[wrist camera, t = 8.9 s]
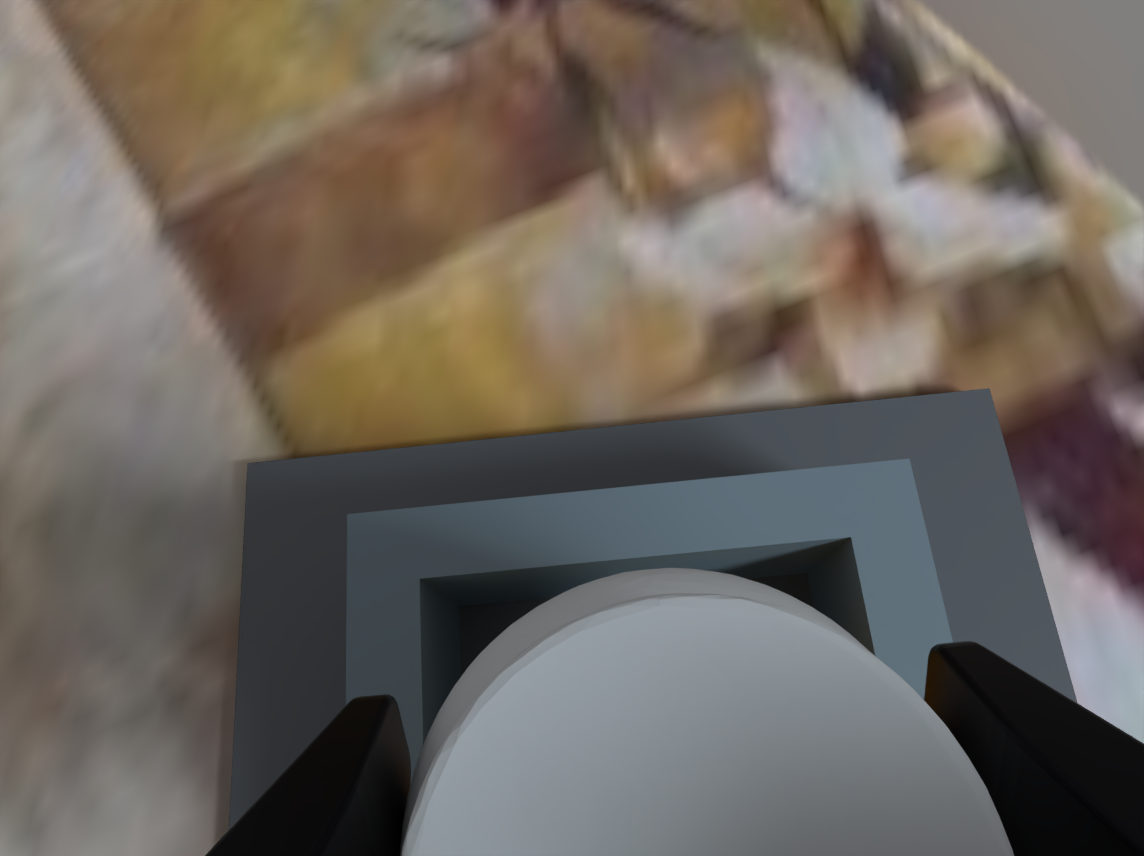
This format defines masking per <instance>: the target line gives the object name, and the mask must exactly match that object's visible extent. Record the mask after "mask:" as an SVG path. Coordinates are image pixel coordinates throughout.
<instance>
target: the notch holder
mask: <svg viewBox="0 0 1144 856" xmlns="http://www.w3.org/2000/svg"><path fill="white" fill-rule="evenodd" d="M659 568H688V569H698V570H706V571H714V572H720V573H726V574H732V575H735V576H739V577H742V578H745V579H748V580H752V581H755V582H758V583H761V584H765V585H767V586H770V587H772V588H774V589H777V590H779V591H781V592H784V593H786V594H788V595H790V596H792V597H794V598H796V599H798V600H800V601H802V602H803V603H805V604H807V605H809V606H811V607H813V608H814V609H816V610H817V611H819V612H820V613H822V614H824V615H825V616H827V617H828V618H830V619H831V620H833V621H834V622H835V623H837V624H838V625H839V626H840V627H842V628H843V629H844V630H846V631H847V632H848V633H849V634H851V635H852V636H853V637H854V638H855V639H856V640H857V641H859V642H860V643H861V644H862V645H863V646H864V647H865V648H867V649H868V651H870V652H871V653H872V654H873V655H875V656H876V657H877V658H878V659H880V660H881V661H882V662H883V663H885V664H886V665H887V666H888V667H890V668H891V669H892V670H893V671H895V672H896V673H897V674H898V675H899V676H900V677H901V678H902V679H903V680H904V681H905V682H907V683H908V684H909V685H910V686H911V687H912V688H913V689H914V690H915V691H916V692H917V693H918V694H919V696H920V697H921V698H922V699H923V700H924V694H925V684H926V674H927V664H928V656H929V652H930V650H931V648H932V647H933V646H935V645H937V644H941V643H952V642H963V641H972V642H976V643H978V644H980V645H982V646H984V647H985V648H987V649H989V650H990V651H992V652H994V653H995V654H997V655H999V656H1000V657H1002V658H1004V659H1005V660H1007V661H1008V662H1010V663H1012V664H1013V665H1015V666H1017V667H1018V668H1020V669H1022V670H1023V671H1025V672H1027V673H1028V674H1030V675H1031V676H1033V677H1035V678H1036V679H1038V680H1040V681H1041V682H1043V683H1045V684H1046V685H1048V686H1050V687H1051V688H1053V689H1054V690H1056V691H1058V692H1059V693H1061V694H1063V695H1064V696H1066V697H1068V698H1069V699H1071V700H1073V701H1074V702H1076V703H1077V700H1076V696H1075V693H1074V689H1073V685H1072V682H1071V678H1070V675H1069V671H1068V668H1067V664H1066V660H1065V657H1064V653H1063V650H1062V646H1061V643H1060V639H1059V635H1058V632H1057V628H1056V625H1055V621H1054V618H1053V614H1052V610H1051V607H1050V603H1049V600H1048V596H1047V593H1046V589H1045V585H1044V582H1043V578H1042V575H1041V571H1040V568H1039V564H1038V560H1037V557H1036V553H1035V550H1034V546H1033V543H1032V539H1031V535H1030V532H1029V528H1028V525H1027V521H1026V518H1025V514H1024V510H1023V507H1022V503H1021V500H1020V496H1019V493H1018V489H1017V485H1016V482H1015V478H1014V475H1013V471H1012V468H1011V464H1010V460H1009V457H1008V453H1007V450H1006V446H1005V443H1004V439H1003V435H1002V432H1001V428H1000V425H999V421H998V418H997V414H996V410H995V407H994V403H993V400H992V396H991V393H990V389H979V390H969V391H959V392H950V393H940V394H930V395H920V396H910V397H900V398H890V399H880V400H870V401H860V402H850V403H841V404H831V405H821V406H811V407H801V408H791V409H781V410H771V411H761V412H751V413H741V414H732V415H722V416H712V417H702V418H692V419H682V420H672V421H662V422H652V423H642V424H633V425H623V426H613V427H603V428H593V429H583V430H573V431H563V432H553V433H543V434H533V435H524V436H514V437H504V438H494V439H484V440H474V441H464V442H454V443H444V444H434V445H425V446H415V447H405V448H395V449H385V450H375V451H365V452H355V453H345V454H335V455H325V456H316V457H306V458H296V459H286V460H276V461H266V462H256V463H248V467H247V486H246V506H245V525H244V545H243V565H242V584H241V604H240V623H239V643H238V663H237V682H236V702H235V721H234V741H233V761H232V780H231V800H230V819H229V830H230V829H231V827H232V826H233V825H234V824H235V823H236V822H237V821H238V820H239V819H240V818H241V817H242V816H243V815H244V814H245V812H246V811H247V810H248V809H249V808H250V807H251V806H252V805H253V804H254V803H255V802H256V801H257V800H258V799H259V798H260V796H261V795H262V794H263V793H264V792H265V791H266V790H267V789H268V788H269V787H270V786H271V785H272V784H273V783H274V781H275V780H276V779H277V778H278V777H279V776H280V775H281V774H282V773H283V772H284V771H285V770H286V769H287V768H288V766H289V765H290V764H291V763H292V762H293V761H294V760H295V759H296V758H297V757H298V756H299V755H300V754H301V753H302V752H303V750H304V749H305V748H306V747H307V746H308V745H309V744H310V743H311V742H312V741H313V740H314V739H315V738H316V737H317V735H318V734H319V733H320V732H321V731H322V730H323V729H324V728H325V727H326V726H327V725H328V724H329V723H330V722H331V721H332V719H333V718H334V717H335V716H336V715H337V714H338V713H339V712H340V711H341V710H342V709H343V708H344V707H345V706H346V704H347V703H348V702H350V701H351V700H352V699H354V698H356V697H361V696H372V695H383V694H389V695H391V696H393V697H394V698H395V700H396V702H397V704H398V707H399V711H400V715H401V719H402V723H403V727H404V731H405V736H406V740H407V744H408V748H409V752H410V759H411V781H412V777H413V773H414V769H415V766H416V763H417V760H418V757H419V754H420V752H421V749H422V747H423V745H424V742H425V740H426V737H427V735H428V732H429V730H430V728H431V726H432V724H433V722H434V720H435V718H436V716H437V714H438V712H439V710H440V709H441V707H442V705H443V704H444V702H445V700H446V699H447V697H448V695H449V694H450V692H451V690H452V689H453V687H454V686H455V684H456V683H457V682H458V680H459V679H460V677H461V676H462V675H463V673H464V672H465V671H466V669H467V668H468V667H469V666H470V664H471V663H472V662H473V661H474V660H475V659H476V657H477V656H478V655H479V654H480V653H481V652H482V651H483V650H484V649H485V648H486V647H487V646H488V645H489V644H490V643H491V642H492V641H493V640H494V639H495V638H497V637H498V636H499V635H500V634H501V633H502V632H503V631H504V630H506V629H507V628H508V627H509V626H510V625H511V624H513V623H514V622H516V621H517V620H518V619H520V618H521V617H523V616H524V615H526V614H527V613H529V612H530V611H532V610H533V609H534V608H536V607H537V606H539V605H541V604H543V603H545V602H547V601H548V600H550V599H552V598H554V597H556V596H558V595H560V594H561V593H563V592H566V591H568V590H570V589H572V588H575V587H577V586H579V585H582V584H585V583H588V582H591V581H594V580H597V579H600V578H604V577H608V576H611V575H615V574H619V573H623V572H630V571H638V570H646V569H659ZM410 785H411V782H410Z"/></svg>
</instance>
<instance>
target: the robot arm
mask: <svg viewBox="0 0 1144 856" xmlns="http://www.w3.org/2000/svg"><path fill="white" fill-rule="evenodd" d="M924 701H925V702H926V703H927V704H928V705H929V706H930V708H931V709H932V710H933V711H934V712H935V713H936V714H937V716H938V717H939V718H940V719H941V720H942V721H943V722H944V724H945V725H946V726H947V727H948V729H949V730H950V732H951V733H952V735H953V736H954V737H955V739H956V740H957V742H958V743H959V745H960V746H961V747H962V749H963V750H964V752H965V753H966V755H967V756H968V758H969V759H970V761H971V763H972V764H973V766H974V768H975V769H976V771H977V773H978V774H979V776H980V778H981V779H982V781H983V783H984V784H985V786H986V788H987V790H988V792H989V795H990V797H991V799H992V801H993V803H994V806H995V808H996V810H997V812H998V815H999V817H1000V819H1001V822H1002V824H1003V827H1004V830H1005V832H1006V835H1007V837H1008V840H1009V842H1010V845H1011V847H1012V850H1013V853H1014V856H1144V744H1143V743H1142V742H1140V741H1138V740H1137V739H1135V738H1133V737H1132V736H1130V735H1129V734H1127V733H1125V732H1124V731H1122V730H1120V729H1119V728H1117V727H1115V726H1114V725H1112V724H1110V723H1109V722H1107V721H1105V720H1104V719H1102V718H1101V717H1099V716H1097V715H1096V714H1094V713H1092V712H1091V711H1089V710H1087V709H1086V708H1084V707H1082V706H1081V705H1079V704H1078V703H1076V702H1074V701H1073V700H1071V699H1069V698H1068V697H1066V696H1064V695H1063V694H1061V693H1059V692H1058V691H1056V690H1054V689H1053V688H1051V687H1050V686H1048V685H1046V684H1045V683H1043V682H1041V681H1040V680H1038V679H1036V678H1035V677H1033V676H1031V675H1030V674H1028V673H1027V672H1025V671H1023V670H1022V669H1020V668H1018V667H1017V666H1015V665H1013V664H1012V663H1010V662H1008V661H1007V660H1005V659H1004V658H1002V657H1000V656H999V655H997V654H995V653H994V652H992V651H990V650H989V649H987V648H985V647H984V646H982V645H980V644H978V643H976V642H972V641H963V642H952V643H941V644H937V645H935V646H933V647H932V648H931V650H930V652H929V656H928V664H927V674H926V684H925V694H924ZM410 782H411V759H410V752H409V748H408V744H407V740H406V736H405V731H404V727H403V723H402V719H401V715H400V711H399V707H398V704H397V702H396V700H395V698H394V697H393V696H391V695H389V694H383V695H372V696H361V697H356V698H354V699H352V700H351V701H350V702H348V703H347V704H346V706H345V707H344V708H343V709H342V710H341V711H340V712H339V713H338V714H337V715H336V716H335V717H334V718H333V719H332V721H331V722H330V723H329V724H328V725H327V726H326V727H325V728H324V729H323V730H322V731H321V732H320V733H319V734H318V735H317V737H316V738H315V739H314V740H313V741H312V742H311V743H310V744H309V745H308V746H307V747H306V748H305V749H304V750H303V752H302V753H301V754H300V755H299V756H298V757H297V758H296V759H295V760H294V761H293V762H292V763H291V764H290V765H289V766H288V768H287V769H286V770H285V771H284V772H283V773H282V774H281V775H280V776H279V777H278V778H277V779H276V780H275V781H274V783H273V784H272V785H271V786H270V787H269V788H268V789H267V790H266V791H265V792H264V793H263V794H262V795H261V796H260V798H259V799H258V800H257V801H256V802H255V803H254V804H253V805H252V806H251V807H250V808H249V809H248V810H247V811H246V812H245V814H244V815H243V816H242V817H241V818H240V819H239V820H238V821H237V822H236V823H235V824H234V825H233V826H232V827H231V829H230V830H229V831H228V832H227V833H226V834H225V835H224V836H223V837H222V838H221V839H220V840H219V841H218V842H217V843H216V845H215V846H214V847H213V848H212V849H211V850H210V851H209V852H208V853H207V854H206V855H205V856H400V844H401V835H402V825H403V819H404V814H405V808H406V803H407V797H408V793H409V789H410Z"/></svg>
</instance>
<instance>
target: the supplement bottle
mask: <svg viewBox="0 0 1144 856" xmlns="http://www.w3.org/2000/svg"><path fill="white" fill-rule="evenodd" d="M400 856H1014V853H1013V850H1012V847H1011V845H1010V842H1009V840H1008V837H1007V835H1006V832H1005V830H1004V827H1003V824H1002V822H1001V819H1000V817H999V815H998V812H997V810H996V808H995V806H994V803H993V801H992V799H991V797H990V795H989V792H988V790H987V788H986V786H985V784H984V783H983V781H982V779H981V778H980V776H979V774H978V773H977V771H976V769H975V768H974V766H973V764H972V763H971V761H970V759H969V758H968V756H967V755H966V753H965V752H964V750H963V749H962V747H961V746H960V745H959V743H958V742H957V740H956V739H955V737H954V736H953V735H952V733H951V732H950V730H949V729H948V727H947V726H946V725H945V724H944V722H943V721H942V720H941V719H940V718H939V717H938V716H937V714H936V713H935V712H934V711H933V710H932V709H931V708H930V706H929V705H928V704H927V703H926V702H925V701H924V700H923V699H922V698H921V697H920V696H919V694H918V693H917V692H916V691H915V690H914V689H913V688H912V687H911V686H910V685H909V684H908V683H907V682H905V681H904V680H903V679H902V678H901V677H900V676H899V675H898V674H897V673H896V672H895V671H893V670H892V669H891V668H890V667H888V666H887V665H886V664H885V663H883V662H882V661H881V660H880V659H878V658H877V657H876V656H875V655H873V654H872V653H871V652H870V651H868V649H867V648H865V647H864V646H863V645H862V644H861V643H860V642H859V641H857V640H856V639H855V638H854V637H853V636H852V635H851V634H849V633H848V632H847V631H846V630H844V629H843V628H842V627H840V626H839V625H838V624H837V623H835V622H834V621H833V620H831V619H830V618H828V617H827V616H825V615H824V614H822V613H820V612H819V611H817V610H816V609H814V608H813V607H811V606H809V605H807V604H805V603H803V602H802V601H800V600H798V599H796V598H794V597H792V596H790V595H788V594H786V593H784V592H781V591H779V590H777V589H774V588H772V587H770V586H767V585H765V584H761V583H758V582H755V581H752V580H748V579H745V578H742V577H739V576H735V575H732V574H726V573H720V572H714V571H706V570H698V569H688V568H659V569H646V570H638V571H630V572H623V573H619V574H615V575H611V576H608V577H604V578H600V579H597V580H594V581H591V582H588V583H585V584H582V585H579V586H577V587H575V588H572V589H570V590H568V591H566V592H563V593H561V594H560V595H558V596H556V597H554V598H552V599H550V600H548V601H547V602H545V603H543V604H541V605H539V606H537V607H536V608H534V609H533V610H532V611H530V612H529V613H527V614H526V615H524V616H523V617H521V618H520V619H518V620H517V621H516V622H514V623H513V624H511V625H510V626H509V627H508V628H507V629H506V630H504V631H503V632H502V633H501V634H500V635H499V636H498V637H497V638H495V639H494V640H493V641H492V642H491V643H490V644H489V645H488V646H487V647H486V648H485V649H484V650H483V651H482V652H481V653H480V654H479V655H478V656H477V657H476V659H475V660H474V661H473V662H472V663H471V664H470V666H469V667H468V668H467V669H466V671H465V672H464V673H463V675H462V676H461V677H460V679H459V680H458V682H457V683H456V684H455V686H454V687H453V689H452V690H451V692H450V694H449V695H448V697H447V699H446V700H445V702H444V704H443V705H442V707H441V709H440V710H439V712H438V714H437V716H436V718H435V720H434V722H433V724H432V726H431V728H430V730H429V732H428V735H427V737H426V740H425V742H424V745H423V747H422V749H421V752H420V754H419V757H418V760H417V763H416V766H415V769H414V773H413V777H412V781H411V785H410V789H409V793H408V797H407V803H406V808H405V814H404V819H403V825H402V835H401V844H400Z"/></svg>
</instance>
